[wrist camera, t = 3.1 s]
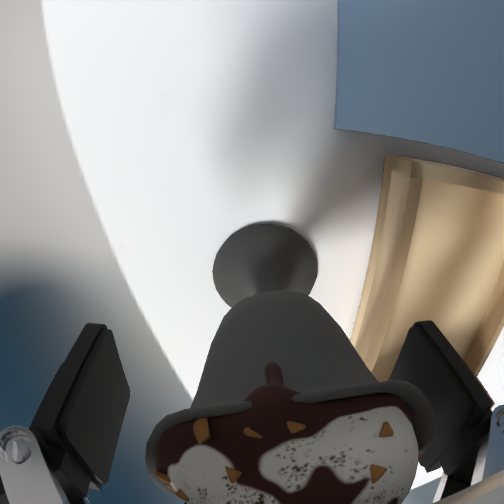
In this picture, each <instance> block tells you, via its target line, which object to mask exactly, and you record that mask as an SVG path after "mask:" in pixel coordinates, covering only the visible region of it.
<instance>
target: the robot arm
mask: <svg viewBox="0 0 504 504" xmlns="http://www.w3.org/2000/svg"><path fill="white" fill-rule="evenodd" d="M388 380H395V381H406V382H409V383H411V384H412V385H414V386H416V387H417V388H419V389H420V390H421V391H422V393H423V394H424V395H425V397H426V398H427V399H428V401H429V402H430V403H431V407H432V410H433V414H434V419H435V434H434V436H433V438H432V440H431V443H430V445H429V447H428V448H427V449H426V451H425V452H424V453H423V454H422V456H421V459H418V461H419V463H420V465H421V466H423V467H425V469H426V472H427V473H428V472H431V471H433V470H436V469H438V468H440V467H441V466H442V468H443V471H444V472H443V475H442V478H441V481H440V484H439V487H438V490H437V493H436V496H435V498H434V501H433V503H432V504H504V405H500V406H498V407H496V408H495V409H494V411H493V412H492V411H491V409H490V408H491V407H492V406H493V404H494V403H493V401H492V400H491V398H490V397H489V395H488V394H487V393H486V391H485V390H484V388H483V387H482V385H481V384H480V383H479V381H478V380H477V378H476V377H475V376H474V374H473V373H472V371H471V370H470V369H469V367H468V366H467V365H466V363H465V362H464V361H463V359H462V358H461V357H460V355H459V354H458V353H457V351H456V350H455V349H454V347H453V346H452V345H451V344H450V342H449V341H448V340H447V338H446V337H445V336H444V335H443V333H442V332H441V331H440V330H439V328H438V327H437V326H436V325H435V323H434V322H433V321H431V320H427V321H418V322H415V323H414V324H413V326H412V327H410V329H409V331H408V333H407V336H406V339H405V341H404V344H403V346H402V349H401V351H400V354H399V356H398V359H397V361H396V363H395V366H394V368H393V370H392V373H391V375H390V377H389V379H388ZM129 398H130V389H129V386H128V383H127V380H126V377H125V374H124V370H123V367H122V364H121V361H120V358H119V354H118V351H117V347H116V344H115V340H114V336H113V333H112V331H111V330H108V329H107V327H106V325H104V324H94V323H87V324H86V325H85V327H84V328H83V330H82V332H81V333H80V335H79V337H78V339H77V341H76V342H75V344H74V346H73V347H72V349H71V351H70V353H69V355H68V356H67V358H66V360H65V362H64V363H63V364H62V365H61V366H60V368H59V370H58V371H57V374H56V375H55V377H54V379H53V381H52V383H51V385H50V387H49V389H48V391H47V393H46V394H45V396H44V398H43V400H42V402H41V404H40V406H39V409H38V411H37V413H36V415H35V417H34V419H33V421H32V424H31V426H30V428H29V429H27V428H25V427H22V426H12V427H9V428H7V429H5V430H4V431H2V432H1V433H0V504H90V503H89V502H88V500H87V498H86V496H87V492H88V488H92V489H95V490H101V488H102V484H106V483H107V482H108V479H109V474H110V470H111V466H112V462H113V458H114V454H115V450H116V445H117V442H118V438H119V434H120V430H121V427H122V423H123V419H124V416H125V412H126V408H127V405H128V402H129Z"/></svg>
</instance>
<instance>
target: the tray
mask: <svg viewBox="0 0 504 504" xmlns="http://www.w3.org/2000/svg"><path fill="white" fill-rule="evenodd" d="M427 320H431V321H433V322H434V323H435V325H436V326H437V327H438V328H439V330H440V331H441V332H442V333H443V335H444V336H445V337H446V338H447V340H448V341H449V342H450V344H451V345H452V346H453V347H454V349H455V350H456V351H457V353H458V354H459V355H460V357H461V358H462V359H463V361H464V362H465V363H466V365H467V366H468V367H469V369H470V370H471V371H472V373H473V374H474V376H475V377H476V378H477V375H478V374H479V372H480V370H481V368H482V367H483V365H484V363H485V361H486V360H487V358H488V356H489V354H490V352H491V350H492V348H493V346H494V344H495V342H496V340H497V338H498V336H499V334H500V332H501V330H502V328H503V326H504V179H503V178H500V177H496V176H492V175H489V174H485V173H481V172H477V171H473V170H468V169H464V168H460V167H455V166H451V165H446V164H441V163H436V162H431V161H426V160H420V159H415V158H409V157H403V156H397V155H391V154H385V163H384V172H383V180H382V187H381V195H380V201H379V208H378V214H377V221H376V227H375V232H374V238H373V243H372V249H371V254H370V259H369V264H368V269H367V273H366V278H365V282H364V287H363V291H362V296H361V300H360V304H359V308H358V312H357V316H356V320H355V324H354V328H353V331H352V335H351V339H350V342H351V343H352V345H353V346H354V348H355V349H356V351H357V352H358V354H359V355H360V357H361V359H362V360H363V362H364V363H365V365H366V366H367V368H368V369H369V370H370V371H371V373H372V374H373V375H374V376H375V378H376V379H377V380H378V381H379V382H382V381H388V379H389V377H390V375H391V373H392V370H393V368H394V366H395V363H396V361H397V359H398V356H399V354H400V351H401V349H402V346H403V344H404V341H405V339H406V336H407V333H408V331H409V329H410V327H412V326H413V324H414V323H415V322H418V321H427ZM477 380H478V381H479V379H478V378H477ZM479 383H480V384H481V382H480V381H479ZM481 385H482V384H481ZM482 387H483V388H484V386H483V385H482ZM484 390H485V391H486V389H485V388H484ZM486 393H487V394H488V392H487V391H486ZM488 395H489V394H488ZM489 397H490V395H489ZM490 398H491V397H490ZM491 400H492V398H491ZM492 401H493V400H492ZM493 403H494V401H493ZM494 404H495V403H494ZM494 404H493V406H494ZM493 406H492V407H493ZM492 407H491V408H490V409H492Z"/></svg>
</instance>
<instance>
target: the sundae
mask: <svg viewBox="0 0 504 504" xmlns="http://www.w3.org/2000/svg"><path fill="white" fill-rule="evenodd" d="M316 277H317V263H316V257H315V255H314V253H313V250H312V248H311V247H310V245H309V244H308V242H307V241H306V240H305V239H304V238H303V237H302V236H300V235H299V234H298V233H296V232H295V231H293V230H292V229H289V228H286V227H283V226H278V225H273V224H263V225H256V226H250V227H247V228H245V229H243V230H241V231H239V232H237V233H236V234H234V235H232V236H231V237H229V239H228V240H227V241H226V242H225V243H224V244H223V245H222V247H221V248H220V250H219V251H218V253H217V255H216V258H215V261H214V266H213V279H214V283H215V287H216V290H217V291H218V293H219V295H220V296H221V298H222V299H223V300H224V301H225V302H226V303H227V305H229V306H230V307H232V308H231V309H230V310H229V312H228V313H227V314H226V315H225V316H224V318H223V320H222V322H221V324H220V326H219V328H218V330H217V332H216V335H215V337H214V339H213V341H212V343H211V346H210V350H209V353H208V356H207V360H206V363H205V366H204V370H203V373H202V376H201V380H200V383H199V386H198V390H197V393H196V395H195V398H194V400H193V403H192V405H191V408H190V409H184V410H181V411H179V412H175V413H172V414H170V415H167V416H165V417H164V418H163V419H162V420H161V421H160V422H159V423H158V424H157V425H156V426H155V428H154V430H153V432H152V434H151V436H150V438H149V440H148V442H147V445H146V456H145V460H146V467H147V473H148V474H149V476H150V477H151V479H152V480H153V481H154V483H155V484H156V485H157V486H158V487H160V488H161V489H162V490H164V491H165V492H166V493H168V494H170V495H173V496H176V497H179V498H181V499H183V500H184V501H185V502H186V503H184V504H401V503H402V502H403V501H404V499H405V498H406V496H407V495H408V493H409V491H410V489H411V486H412V483H413V481H414V478H415V474H416V470H417V465H418V459H421V456H422V454H423V453H424V452H425V451H426V449H427V448H428V447H429V445H430V443H431V440H432V438H433V436H434V434H435V419H434V414H433V410H432V407H431V403H430V402H429V401H428V399H427V398H426V397H425V395H424V394H423V393H422V391H421V390H420V389H419V388H417V387H416V386H414V385H412V384H411V383H409V382H406V381H395V380H388V381H382V382H379V381H378V380H377V379H376V378H375V376H374V375H373V374H372V373H371V371H370V370H369V369H368V368H367V366H366V365H365V363H364V362H363V360H362V359H361V357H360V355H359V354H358V352H357V351H356V349H355V348H354V346H353V345H352V343H351V342H350V340H349V339H348V337H347V336H346V334H345V333H344V331H343V330H342V328H341V327H340V326H339V325H338V324H337V322H336V321H335V320H334V319H333V318H332V317H331V316H330V315H329V313H328V312H327V311H326V310H325V309H324V308H323V307H322V306H321V304H320V303H318V302H317V301H315V300H314V299H312V298H311V297H309V296H308V295H309V294H310V292H311V290H312V288H313V285H314V283H315V280H316Z"/></svg>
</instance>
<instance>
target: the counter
mask: <svg viewBox="0 0 504 504" xmlns="http://www.w3.org/2000/svg"><path fill="white" fill-rule="evenodd" d="M334 129H342V130H350V131H357V132H364V133H371V134H378V135H384V136H390V137H396V138H402V139H407V140H413V141H418V142H423V143H428V144H432V145H437V146H441V147H446V148H450V149H454V150H458V151H462V152H466V153H470V154H474V155H477V156H481V157H484V158H488V159H491V160H495V161H498V162H501V163H504V0H338V59H337V89H336V109H335V126H334Z"/></svg>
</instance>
